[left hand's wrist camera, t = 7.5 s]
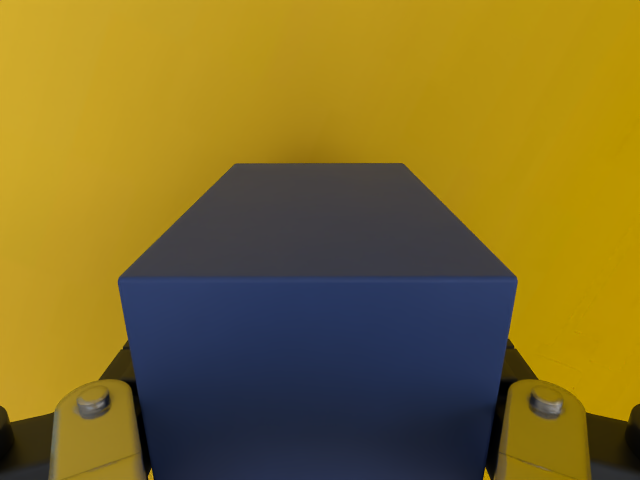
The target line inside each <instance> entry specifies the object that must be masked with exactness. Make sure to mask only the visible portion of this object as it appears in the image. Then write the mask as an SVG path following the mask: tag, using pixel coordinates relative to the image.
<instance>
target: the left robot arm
mask: <svg viewBox="0 0 640 480" xmlns="http://www.w3.org/2000/svg"><path fill="white" fill-rule="evenodd" d="M485 467H486V469H487V472H488V474H489V476H490V479H491V480H640V404H638V405H636V406H635V407H634V408H633V409H632V411H631V414H630V417H629V421H628V422H626V421H622V420H617V419H612V418H608V417H603V416H599V415H594V414H590V413H586V412H585V409H584V407H583V405H582V403H581V402H580V401H579V400H578V399H577V398H576V397H575V396H574V395H573V394H571V393H570V392H568V391H567V390H565V389H563V388H562V387H560V386H557V385H555V384H552V383H549V382H546V381H542V380H538V378H537V377H536V375H535V374H534V373H533V371H532V370H531V369H530V367H529V366H528V364H527V363H526V362H525V360H524V359H523V358H522V356H521V355H520V354H519V352H518V351H517V349H514V345H513V344H512V343H511V341H510V340H509V339H508V340H507V345H506V351H505V357H504V362H503V368H502V374H501V379H500V385H499V391H498V396H497V402H496V408H495V413H494V419H493V425H492V431H491V436H490V442H489V448H488V453H487V459H486V465H485ZM151 468H152V466H151V461H150V455H149V450H148V444H147V439H146V434H145V428H144V423H143V417H142V412H141V406H140V401H139V395H138V390H137V384H136V379H135V373H134V368H133V363H132V357H131V352H130V346H129V341H127V342H126V344H125V345H124V346H123V350H120V352H119V353H118V354H117V356H116V357H115V358H114V360H113V361H112V362H111V364H110V365H109V367H108V368H107V369H106V371H105V372H104V373H103V375H102V376H101V377H100V379H99V380H98V381H94V382H91V383H88V384H85V385H83V386H80V387H78V388H77V389H75V390H73V391H72V392H70V393H69V394H67V395H66V396H65V397H64V398H63V399H62V400H61V401H60V402H59V403H58V405H57V407H56V409H55V412H53V413H50V414H47V415H43V416H38V417H33V418H29V419H24V420H20V421H15V422H10V421H9V417H8V414H7V411H6V410H5V409H4V408H3V407H2V406H0V480H148V475H149V472H150V470H151Z"/></svg>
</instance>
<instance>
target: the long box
mask: <svg viewBox="0 0 640 480" xmlns="http://www.w3.org/2000/svg"><path fill="white" fill-rule="evenodd" d="M517 283H518V281H517V277H516V276H515V275H514V274H513V273H512V272H511V271H510V270H509V269H508V268H507V267H506V266H505V265H504V264H503V263H502V262H501V261H500V260H499V259H498V258H497V257H496V256H495V255H494V254H493V253H492V252H491V251H490V250H489V249H488V248H487V247H486V246H485V245H484V244H483V243H482V242H481V241H480V240H479V239H478V238H477V237H476V236H475V235H474V234H473V233H472V232H471V231H470V230H469V229H468V228H467V227H466V226H465V225H464V224H463V223H462V222H461V221H460V220H459V219H458V218H457V217H456V216H455V215H454V214H453V213H452V212H451V211H450V210H449V209H448V208H447V207H446V206H445V205H444V204H443V203H442V202H441V201H440V200H439V199H438V198H437V197H436V196H435V195H434V194H433V193H432V192H431V191H430V190H429V189H428V188H427V187H426V186H425V185H424V184H423V183H422V182H421V181H420V180H419V179H418V178H417V177H416V176H415V175H414V174H413V173H412V172H411V171H410V170H409V169H408V168H407V167H406V166H405V165H404V164H402V163H284V164H234V165H233V166H232V167H231V168H230V169H229V170H228V171H227V172H226V173H225V174H224V175H223V176H222V177H221V178H220V179H219V180H218V181H217V182H216V183H215V184H214V185H213V186H212V187H211V188H210V189H209V190H208V191H207V192H206V193H205V194H204V195H203V196H202V197H201V198H200V199H199V200H198V201H197V202H196V203H194V204H193V205H192V206H191V207H190V208H189V209H188V210H187V211H186V212H185V213H184V214H183V215H182V216H181V217H180V218H179V219H178V220H177V221H176V222H175V223H174V224H173V225H172V226H171V227H170V228H169V229H168V230H167V231H166V232H165V233H164V234H163V235H162V236H161V237H160V238H159V239H158V240H157V241H156V242H155V243H154V244H153V245H152V246H151V247H149V248H148V249H147V250H146V251H145V252H144V253H143V254H142V255H141V256H140V257H139V258H138V259H137V260H136V261H135V262H134V263H133V264H132V265H131V266H130V267H129V268H128V269H127V270H126V271H125V272H124V273H123V274H122V275H121V276H120V277H119V279H118V286H119V292H120V297H121V303H122V308H123V313H124V319H125V324H126V330H127V335H128V341H129V346H130V352H131V357H132V363H133V368H134V373H135V379H136V384H137V390H138V395H139V401H140V406H141V412H142V417H143V423H144V428H145V434H146V439H147V444H148V450H149V455H150V461H151V466H152V472H153V477H154V480H483V476H484V470H485V465H486V459H487V453H488V448H489V442H490V436H491V431H492V425H493V419H494V413H495V408H496V402H497V396H498V391H499V385H500V379H501V374H502V368H503V362H504V357H505V351H506V345H507V340H508V334H509V328H510V322H511V317H512V311H513V305H514V300H515V294H516V288H517Z"/></svg>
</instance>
